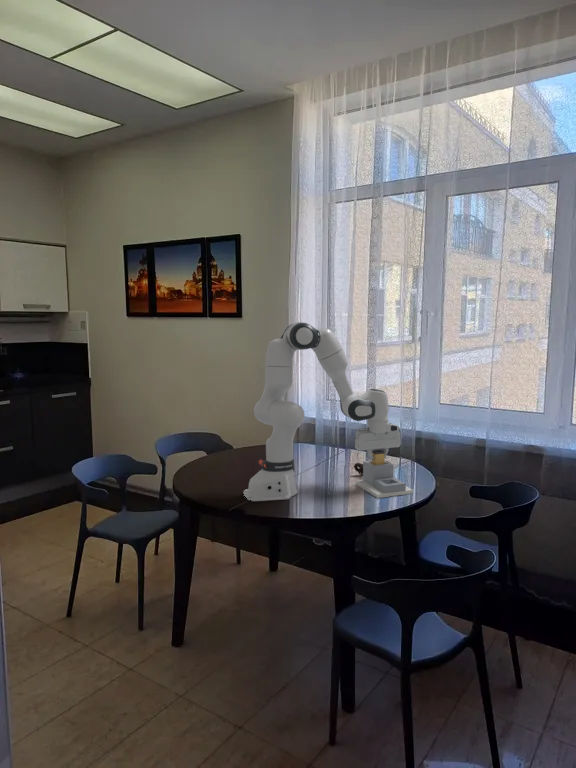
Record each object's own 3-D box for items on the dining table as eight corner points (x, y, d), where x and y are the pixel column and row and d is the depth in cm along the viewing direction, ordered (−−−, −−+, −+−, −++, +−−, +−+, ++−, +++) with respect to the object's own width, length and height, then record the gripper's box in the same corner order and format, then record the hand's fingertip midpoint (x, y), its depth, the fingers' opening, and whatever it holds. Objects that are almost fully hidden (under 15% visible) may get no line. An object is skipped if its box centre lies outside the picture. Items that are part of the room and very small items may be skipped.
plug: (376, 471, 223) (375, 452, 222) (371, 468, 227) (371, 450, 226) (384, 470, 224) (384, 451, 224) (380, 467, 228) (380, 449, 227)
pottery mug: (378, 473, 246) (382, 461, 241) (376, 487, 239) (381, 475, 234) (352, 467, 247) (356, 454, 243) (350, 480, 240) (354, 467, 235)
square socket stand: (377, 498, 210) (377, 473, 209) (356, 484, 229) (356, 461, 228) (413, 493, 215) (413, 469, 214) (389, 480, 234) (389, 458, 233)
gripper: (358, 430, 218) (358, 463, 219) (402, 426, 224) (402, 458, 225) (352, 427, 224) (352, 459, 225) (395, 423, 230) (395, 455, 231)
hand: (378, 458), depth 225 cm, fingers closed on plug, 4 cm apart
